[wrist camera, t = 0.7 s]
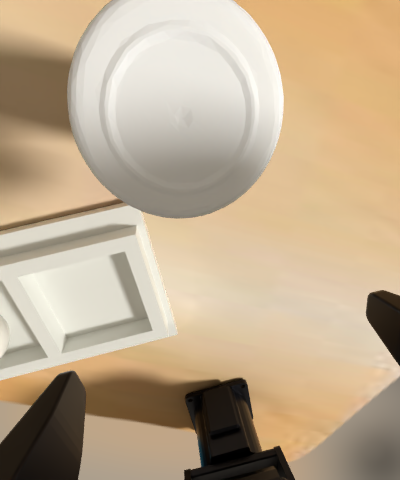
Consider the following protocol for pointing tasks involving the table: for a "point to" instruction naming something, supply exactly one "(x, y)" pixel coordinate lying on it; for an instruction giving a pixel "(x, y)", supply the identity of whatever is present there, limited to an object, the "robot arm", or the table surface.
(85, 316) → the tray
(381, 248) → the table surface
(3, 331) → the egg
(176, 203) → the sprinkles bottle
